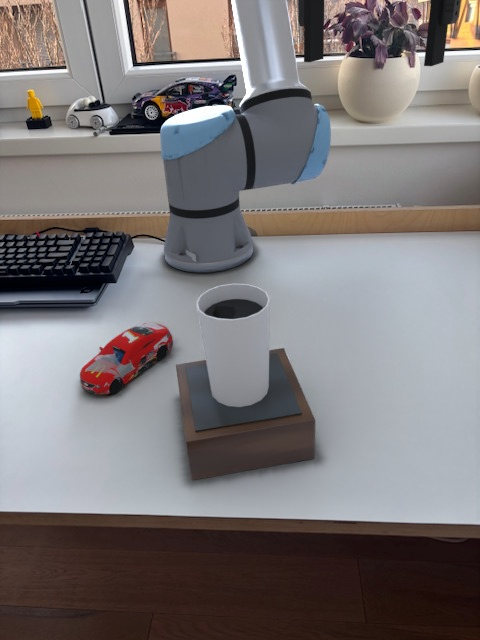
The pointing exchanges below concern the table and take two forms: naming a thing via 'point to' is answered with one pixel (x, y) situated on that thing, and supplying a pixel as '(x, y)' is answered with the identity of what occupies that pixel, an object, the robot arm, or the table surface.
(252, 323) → the white coffee cup
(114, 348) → the race car
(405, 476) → the table surface
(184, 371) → the stand
